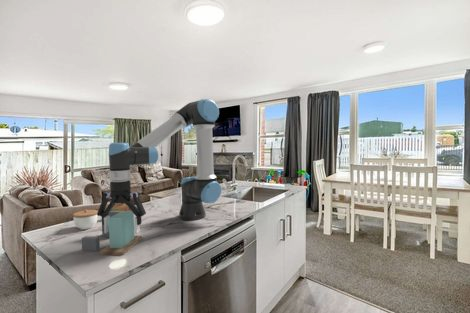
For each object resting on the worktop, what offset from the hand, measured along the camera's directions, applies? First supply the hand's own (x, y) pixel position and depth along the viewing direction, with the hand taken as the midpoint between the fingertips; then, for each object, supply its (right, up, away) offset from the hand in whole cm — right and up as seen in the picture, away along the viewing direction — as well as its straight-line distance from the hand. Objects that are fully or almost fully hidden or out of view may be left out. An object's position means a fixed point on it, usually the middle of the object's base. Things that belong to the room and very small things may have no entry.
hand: (122, 232), depth 98 cm
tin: (-20, -4, +41) cm, 46 cm away
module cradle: (-11, -6, +4) cm, 13 cm away
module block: (0, -4, 0) cm, 4 cm away
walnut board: (0, -6, 0) cm, 6 cm away
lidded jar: (-29, -5, +23) cm, 38 cm away
